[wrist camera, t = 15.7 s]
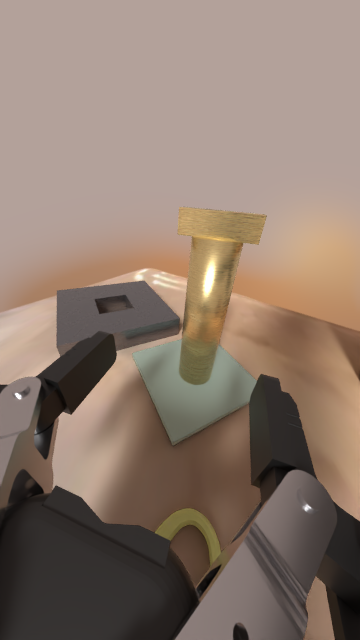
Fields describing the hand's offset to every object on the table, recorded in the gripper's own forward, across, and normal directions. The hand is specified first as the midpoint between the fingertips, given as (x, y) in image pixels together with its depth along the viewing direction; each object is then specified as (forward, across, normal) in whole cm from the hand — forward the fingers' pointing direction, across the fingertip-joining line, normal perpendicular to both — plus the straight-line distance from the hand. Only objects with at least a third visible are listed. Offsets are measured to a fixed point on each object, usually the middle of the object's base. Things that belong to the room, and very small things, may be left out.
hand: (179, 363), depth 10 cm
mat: (+9, 0, +11) cm, 14 cm away
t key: (+9, 0, +10) cm, 13 cm away
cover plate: (+16, +16, +11) cm, 25 cm away
